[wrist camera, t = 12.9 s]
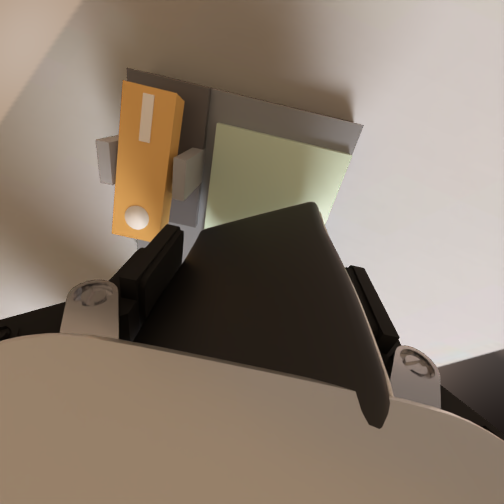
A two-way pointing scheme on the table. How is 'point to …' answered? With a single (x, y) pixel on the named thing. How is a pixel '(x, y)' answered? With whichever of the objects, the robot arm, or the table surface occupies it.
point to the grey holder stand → (243, 157)
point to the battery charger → (273, 305)
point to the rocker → (145, 160)
